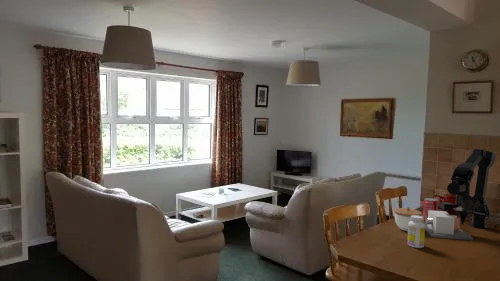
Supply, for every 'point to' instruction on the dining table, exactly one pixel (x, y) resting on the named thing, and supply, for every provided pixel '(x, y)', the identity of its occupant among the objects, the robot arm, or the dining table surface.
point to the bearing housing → (444, 226)
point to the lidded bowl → (405, 217)
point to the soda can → (429, 207)
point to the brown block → (456, 221)
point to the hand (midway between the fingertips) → (461, 224)
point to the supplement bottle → (416, 232)
